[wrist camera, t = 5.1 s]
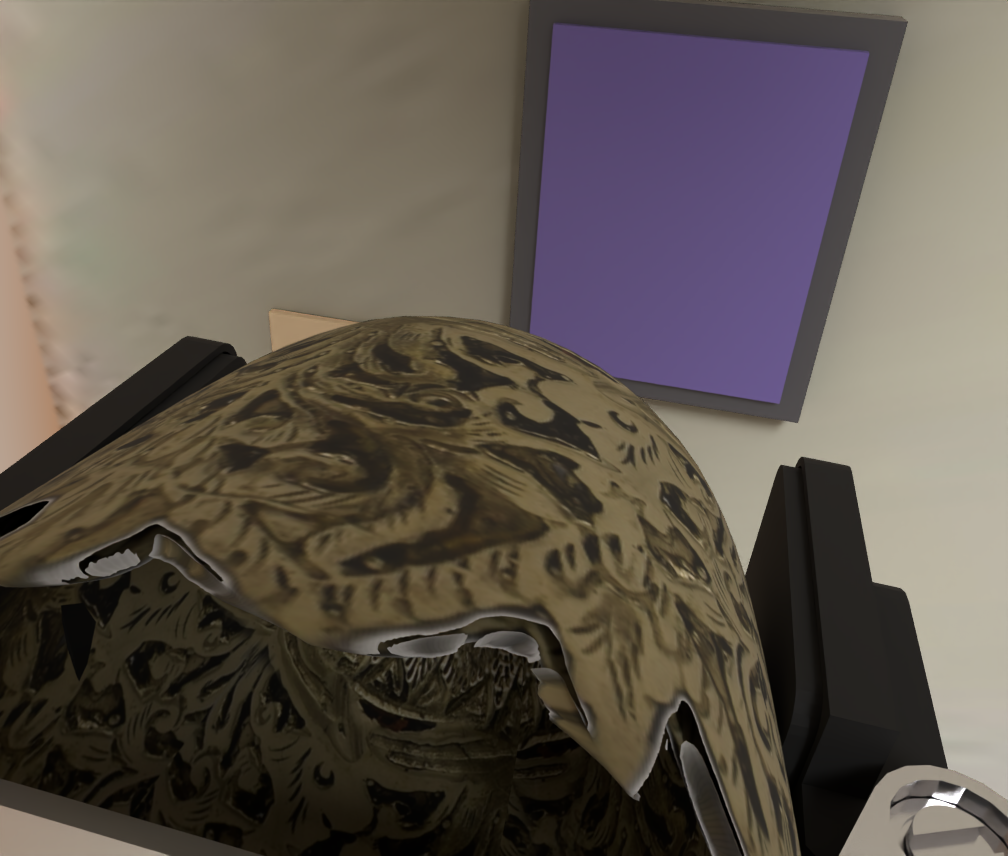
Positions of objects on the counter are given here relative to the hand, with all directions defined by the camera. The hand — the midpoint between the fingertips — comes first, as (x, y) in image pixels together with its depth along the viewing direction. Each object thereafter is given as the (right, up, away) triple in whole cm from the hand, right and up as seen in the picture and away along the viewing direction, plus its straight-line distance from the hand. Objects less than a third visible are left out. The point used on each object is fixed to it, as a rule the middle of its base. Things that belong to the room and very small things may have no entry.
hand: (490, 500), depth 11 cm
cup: (0, +1, +2) cm, 2 cm away
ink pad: (+5, +7, +14) cm, 16 cm away
